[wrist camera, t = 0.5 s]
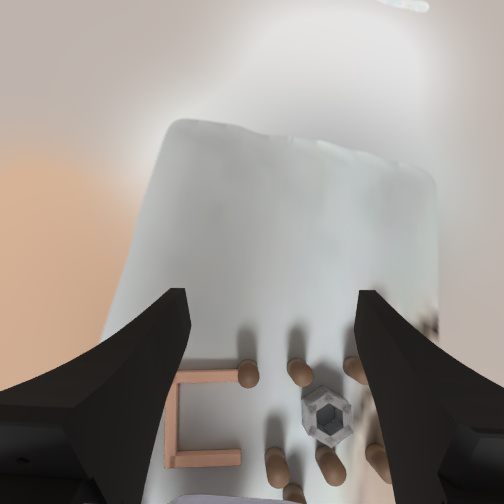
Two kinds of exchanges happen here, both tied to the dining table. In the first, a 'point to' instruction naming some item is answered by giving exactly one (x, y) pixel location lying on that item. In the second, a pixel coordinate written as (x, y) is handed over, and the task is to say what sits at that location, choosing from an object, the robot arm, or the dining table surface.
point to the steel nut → (333, 429)
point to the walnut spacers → (324, 454)
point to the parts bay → (171, 424)
